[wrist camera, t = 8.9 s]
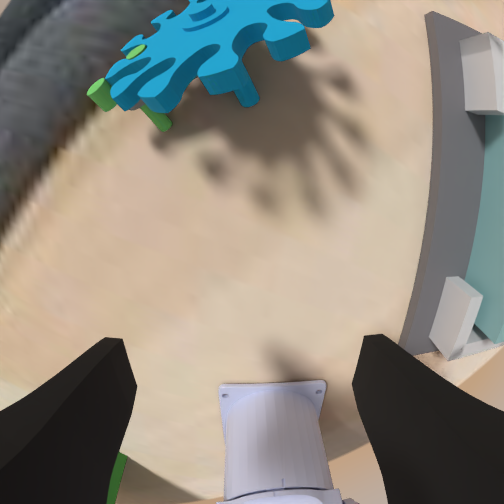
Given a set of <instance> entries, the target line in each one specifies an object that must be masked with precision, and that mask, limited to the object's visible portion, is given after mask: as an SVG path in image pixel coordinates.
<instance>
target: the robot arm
mask: <svg viewBox="0 0 504 504" xmlns="http://www.w3.org/2000/svg"><path fill="white" fill-rule="evenodd" d="M352 387H353V391H354V396H355V400H356V404H357V408H358V411H359V414H360V417H361V419H362V422H363V425H364V427H365V430H366V433H367V435H368V438H369V440H370V443H371V445H372V448H373V451H374V453H375V456H376V459H377V461H378V464H379V467H380V470H381V473H382V476H383V481H384V486H385V490H386V495H387V500H388V504H504V411H501V410H499V409H497V408H495V407H492V406H490V405H488V404H486V403H484V402H482V401H481V400H479V399H477V398H475V397H473V396H471V395H469V394H468V393H466V392H464V391H463V390H461V389H459V388H458V387H456V386H455V385H453V384H452V383H450V382H449V381H447V380H445V379H444V378H443V377H441V376H440V375H438V374H437V373H435V372H434V371H432V370H431V369H430V368H428V367H427V366H426V365H424V364H423V363H422V362H420V361H419V360H417V359H416V358H415V357H413V356H412V355H411V354H409V353H408V352H407V351H405V350H404V349H403V348H401V347H400V346H399V345H397V344H396V343H395V342H393V341H392V340H391V339H389V338H388V337H386V336H385V335H383V334H377V335H367V336H364V339H363V343H362V347H361V351H360V355H359V359H358V363H357V367H356V371H355V374H354V378H353V381H352ZM136 390H137V384H136V381H135V378H134V375H133V372H132V369H131V366H130V363H129V359H128V356H127V353H126V349H125V346H124V342H123V339H120V338H108V337H105V338H103V339H102V340H100V341H99V342H98V343H96V344H95V345H94V346H92V347H91V348H90V349H88V350H87V351H86V352H85V353H83V354H82V355H81V356H79V357H78V358H77V359H76V360H74V361H73V362H72V363H71V364H69V365H68V366H67V367H65V368H64V369H63V370H62V371H60V372H59V373H58V374H56V375H55V376H54V377H52V378H51V379H50V380H48V381H47V382H45V383H44V384H43V385H41V386H40V387H38V388H37V389H36V390H34V391H33V392H31V393H30V394H28V395H27V396H25V397H24V398H22V399H21V400H19V401H17V402H16V403H14V404H12V405H10V406H9V407H7V408H5V409H3V410H1V411H0V504H107V497H108V491H109V485H110V479H111V475H112V472H113V468H114V465H115V462H116V459H117V456H118V453H119V450H120V447H121V444H122V441H123V438H124V435H125V432H126V429H127V426H128V423H129V420H130V417H131V414H132V410H133V405H134V401H135V395H136ZM317 390H319V391H317ZM325 390H326V382H325V381H323V380H314V381H301V382H285V383H261V384H222V385H220V386H219V400H220V408H221V417H222V425H223V432H224V440H225V474H224V502H216V504H359V503H357V502H355V501H354V500H353V499H351V498H349V499H345V500H342V498H341V494H340V490H339V489H334V488H333V484H332V479H331V474H330V470H329V465H328V461H327V457H326V452H325V448H324V444H323V439H322V435H321V431H320V427H319V422H318V420H319V416H320V412H321V408H322V403H323V399H324V395H325ZM225 394H227V395H225Z"/></svg>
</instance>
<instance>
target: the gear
mask: <svg viewBox="0 0 504 504" xmlns="http://www.w3.org/2000/svg"><path fill="white" fill-rule="evenodd" d="M189 2H190V5H189V6H188V7H187V8H186V9H185V10H184V11H183V12H182V13H181V14H179V15H178V16H176V15H175V13H174V12H173V10H169V11H167V12H165V13H163V14H161V15H160V16H158V17H157V18H155V19H154V20H152V21H151V24H152V25H153V26H154V28H155V29H156V30H157V33H155V34H154V35H153V36H151V37H149V38H147V39H145V37H144V36H143V35H138V36H136V37H134V38H133V39H132V40H131V41H129V42H128V43H127V44H126V45H125V46H124V47H123V48H122V49H121V51H122V52H123V53H124V55H125V56H126V59H122V60H120V61H118V62H117V63H115V64H114V65H113V66H112V68H111V69H110V70H109V72H108V74H107V76H106V78H105V79H106V80H107V81H108V82H107V81H106V80H105V79H104V78H101V79H99V80H98V81H97V82H95V83H94V84H93V85H92V86H91V87H90V89H89V90H88V92H87V95H88V96H89V97H90V98H91V99H92V100H93V101H94V102H95V103H96V104H97V105H98V106H99V107H100V108H101V109H102V110H103V111H105V112H107V111H109V110H111V109H112V108H114V107H115V106H116V105H117V104H118V105H119V106H120V107H121V108H122V109H123V110H124V111H127V110H136V109H138V108H141V109H142V111H143V112H144V113H145V114H146V115H147V116H148V117H149V118H150V119H151V120H152V122H153V123H154V124H155V125H156V126H157V127H158V128H159V129H160V130H161V131H162V132H164V131H167V130H168V129H169V128H170V127H171V126H172V122H171V121H170V119H169V118H168V117H167V116H166V115H165V113H169V112H170V111H171V110H173V109H174V108H175V107H176V106H177V105H178V103H179V102H180V100H181V98H182V95H183V93H184V91H185V89H186V88H187V86H188V85H189V84H190V82H191V81H192V80H193V79H195V78H197V77H199V78H200V80H201V81H202V83H203V84H204V86H205V88H206V89H207V91H208V92H209V94H210V95H217V94H222V93H226V92H230V91H234V93H235V94H236V96H237V98H238V100H239V102H240V103H241V105H242V106H243V107H251V106H253V105H255V104H257V102H258V101H259V99H260V98H259V95H258V93H257V91H256V89H255V87H254V84H253V82H252V80H251V78H250V76H249V74H248V72H247V70H246V68H245V66H244V64H243V62H242V58H243V55H244V53H245V52H246V50H247V49H248V47H249V46H251V45H252V44H254V43H256V42H259V41H263V40H265V42H266V45H267V47H268V49H269V52H270V54H271V57H272V58H273V59H274V60H277V61H281V62H282V61H285V60H288V59H291V58H293V57H296V56H298V55H300V54H302V53H304V52H305V51H307V50H309V49H311V48H310V44H309V40H308V37H307V34H306V30H305V27H304V26H306V27H310V28H322V27H323V26H325V25H327V24H328V23H329V22H330V21H331V20H332V18H333V17H334V13H333V9H332V5H331V1H330V0H189ZM288 19H295V20H298V21H300V22H301V23H302V24H303V25H304V26H303V25H302V24H300V23H297V22H286V21H284V20H288Z"/></svg>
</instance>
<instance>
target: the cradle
mask: <svg viewBox="0 0 504 504" xmlns="http://www.w3.org/2000/svg"><path fill="white" fill-rule="evenodd" d="M424 16H425V22H426V28H427V35H428V43H429V52H430V62H431V75H432V94H433V146H432V166H431V179H430V190H429V200H428V208H427V216H426V223H425V230H424V236H423V243H422V248H421V254H420V259H419V264H418V269H417V274H416V279H415V283H414V288H413V292H412V296H411V300H410V304H409V308H408V312H407V316H406V319H405V323H404V327H403V330H402V334H401V337H400V340H399V343H398V345H399V346H400V347H401V348H403V349H404V350H405V351H407V352H408V353H409V354H411V355H412V356H413V355H418V354H424V353H429V352H434V351H438V350H439V351H440V352H441V353H442V354H443V356H444V357H445V358H446V360H447V361H451V360H455V359H459V358H462V357H466V356H470V355H473V354H477V353H480V352H483V351H487V350H490V349H493V348H496V347H499V346H502V345H504V342H501V343H498V344H494V343H493V342H492V341H491V340H490V339H489V338H488V337H487V336H486V335H485V334H484V333H483V332H482V331H481V330H480V329H479V328H478V327H477V326H476V325H475V324H474V322H475V319H476V317H477V314H478V311H479V308H480V305H481V302H482V299H483V295H482V294H480V293H479V292H478V291H477V290H475V289H474V288H473V287H472V286H470V285H469V284H468V283H467V282H465V281H464V280H465V277H466V273H467V269H468V265H469V260H470V256H471V252H472V247H473V242H474V237H475V232H476V226H477V220H478V214H479V207H480V200H481V192H482V182H483V171H484V157H485V115H504V41H503V40H501V39H499V38H498V37H496V36H494V35H492V34H491V33H489V32H487V33H483V34H482V33H480V32H478V31H476V30H474V29H472V28H470V27H468V26H466V25H464V24H462V23H460V22H457V21H455V20H453V19H451V18H448V17H446V16H444V15H441V14H439V13H436V12H434V11H431V12H429V13H427V14H426V15H424Z"/></svg>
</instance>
